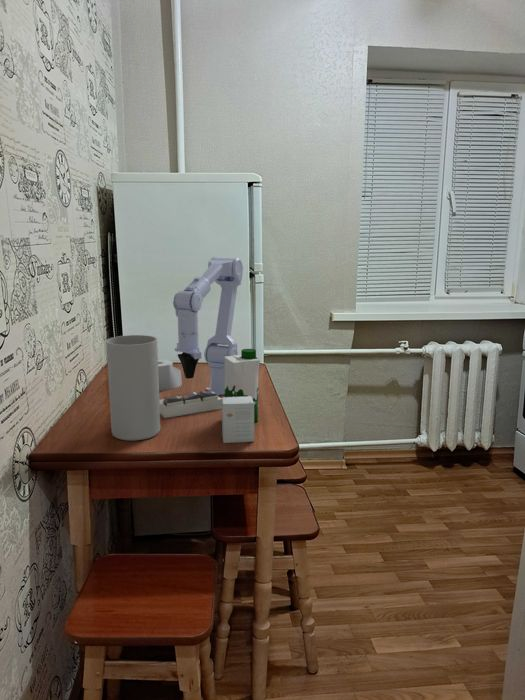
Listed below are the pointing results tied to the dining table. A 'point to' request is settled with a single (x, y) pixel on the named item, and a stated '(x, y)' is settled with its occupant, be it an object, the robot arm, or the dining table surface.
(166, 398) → the rocker
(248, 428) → the small box
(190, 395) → the rocker
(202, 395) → the rocker
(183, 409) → the switch panel
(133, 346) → the cylinder vase
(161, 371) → the toilet tissue
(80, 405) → the dining table surface
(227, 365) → the milk carton
